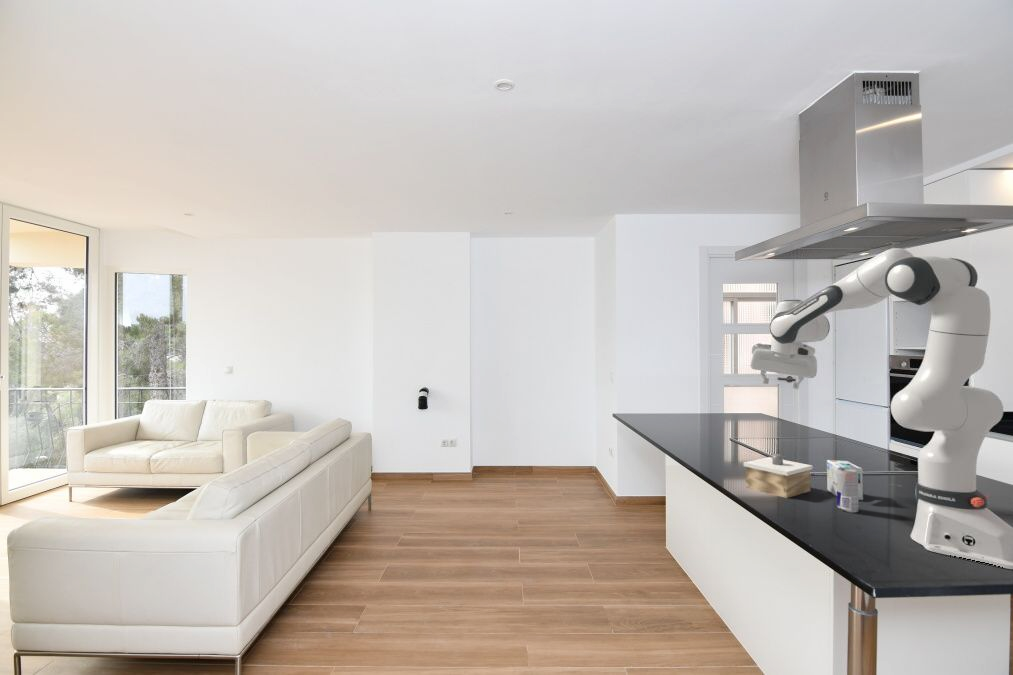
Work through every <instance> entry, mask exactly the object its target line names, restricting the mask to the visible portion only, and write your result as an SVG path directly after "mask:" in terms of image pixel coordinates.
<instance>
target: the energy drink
mask: <svg viewBox="0 0 1013 675" xmlns="http://www.w3.org/2000/svg"><path fill="white" fill-rule="evenodd" d="M836 507H837V508H838V509H842V512H844V513H849V514H850V513H851V514H856V513H858V512H859V500H858V472H857V470H855V469H850V468H838V470H837V496H836Z"/></svg>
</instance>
